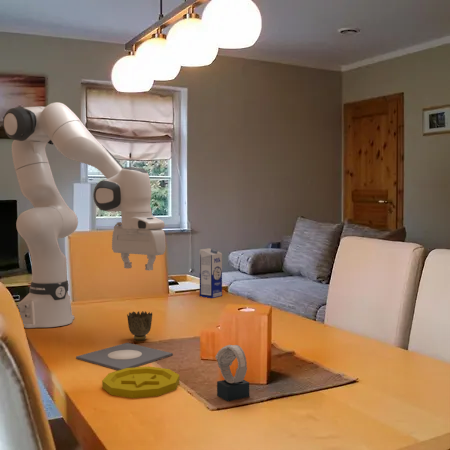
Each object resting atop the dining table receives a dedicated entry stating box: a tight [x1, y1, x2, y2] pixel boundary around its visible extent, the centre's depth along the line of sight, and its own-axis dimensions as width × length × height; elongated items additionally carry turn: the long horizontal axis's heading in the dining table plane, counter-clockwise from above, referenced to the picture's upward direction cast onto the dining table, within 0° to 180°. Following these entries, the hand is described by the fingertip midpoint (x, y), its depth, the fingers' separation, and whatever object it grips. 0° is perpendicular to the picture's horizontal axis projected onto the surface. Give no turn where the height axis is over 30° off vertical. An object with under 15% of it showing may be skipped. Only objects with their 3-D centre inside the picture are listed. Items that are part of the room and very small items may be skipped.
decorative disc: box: [101, 365, 180, 399], centre depth 136 cm, size 17×18×2 cm
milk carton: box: [199, 247, 223, 299], centre depth 249 cm, size 7×7×20 cm
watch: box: [214, 344, 250, 402], centre depth 128 cm, size 6×8×11 cm
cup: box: [126, 310, 153, 342], centre depth 176 cm, size 8×7×8 cm
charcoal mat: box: [75, 342, 174, 371], centre depth 159 cm, size 18×18×1 cm
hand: (138, 269), depth 175 cm, fingers open, 8 cm apart
